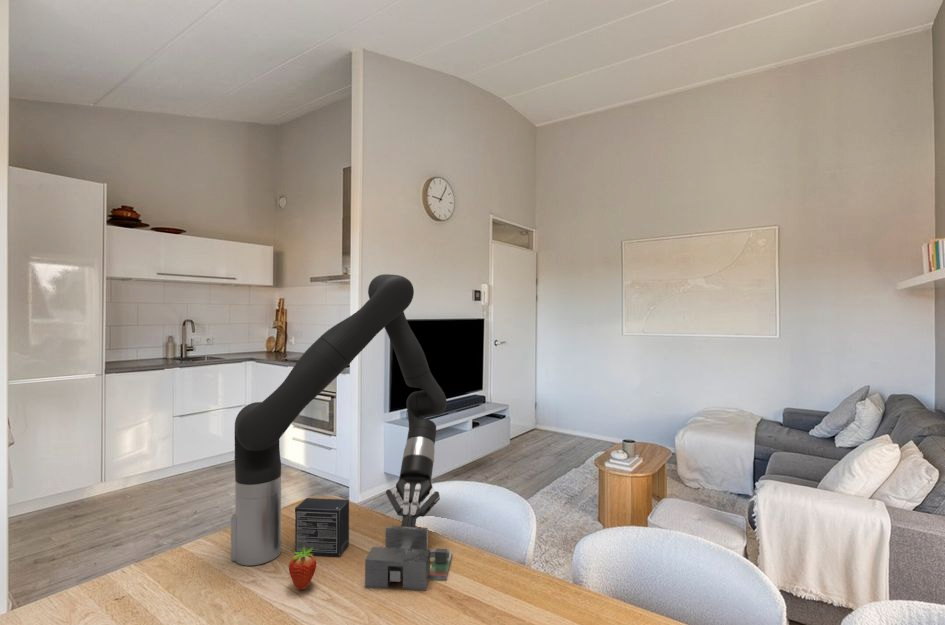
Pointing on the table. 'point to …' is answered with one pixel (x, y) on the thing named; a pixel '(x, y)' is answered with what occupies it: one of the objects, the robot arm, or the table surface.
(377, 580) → the gauge base
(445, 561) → the block
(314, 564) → the fruit
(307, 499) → the small box
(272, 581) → the table surface
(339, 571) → the table surface
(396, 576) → the push plate
